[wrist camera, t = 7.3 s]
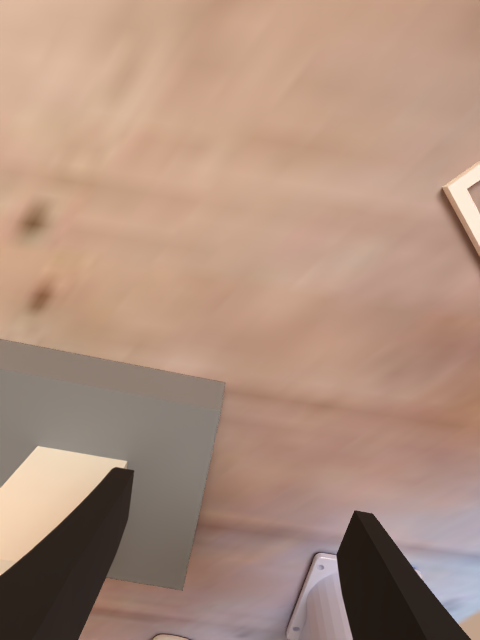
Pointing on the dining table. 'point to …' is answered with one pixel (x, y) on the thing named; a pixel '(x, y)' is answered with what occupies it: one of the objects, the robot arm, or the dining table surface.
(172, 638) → the eye dropper bottle
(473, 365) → the dining table surface
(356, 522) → the robot arm
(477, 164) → the photo frame
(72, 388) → the base plinth
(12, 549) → the cream block
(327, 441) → the dining table surface
